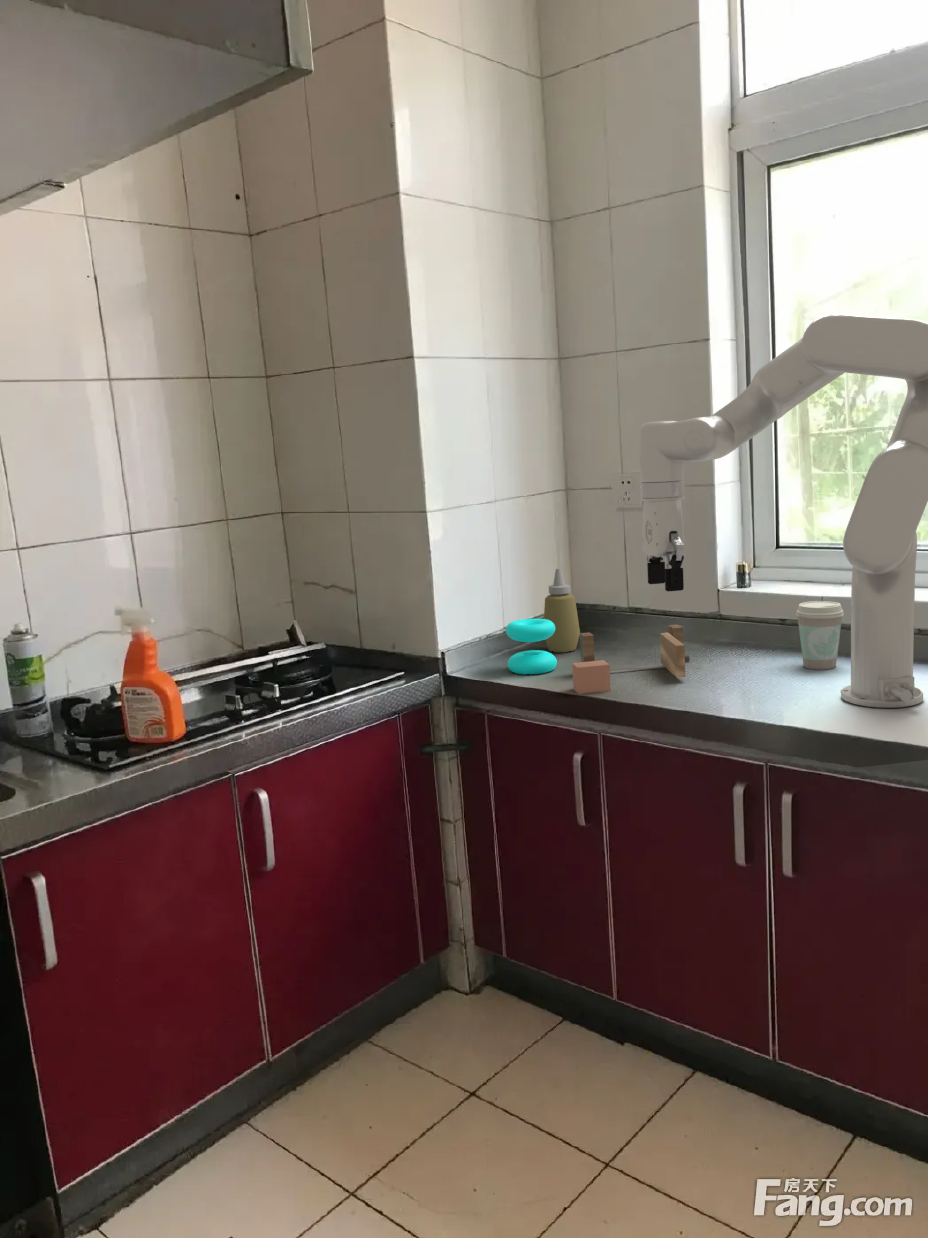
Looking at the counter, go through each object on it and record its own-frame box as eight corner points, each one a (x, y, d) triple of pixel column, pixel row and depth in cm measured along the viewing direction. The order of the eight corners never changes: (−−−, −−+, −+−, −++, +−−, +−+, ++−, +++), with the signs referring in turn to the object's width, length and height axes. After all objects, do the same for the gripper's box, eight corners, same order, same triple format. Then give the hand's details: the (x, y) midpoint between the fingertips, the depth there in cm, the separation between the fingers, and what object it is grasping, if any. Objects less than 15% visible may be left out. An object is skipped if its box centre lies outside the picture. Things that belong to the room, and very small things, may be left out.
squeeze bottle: (538, 649, 222) (534, 569, 218) (571, 644, 224) (568, 565, 221) (552, 655, 214) (548, 572, 211) (586, 651, 216) (583, 569, 213)
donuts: (539, 627, 193) (495, 625, 199) (541, 677, 195) (498, 673, 201) (563, 618, 201) (521, 616, 207) (566, 666, 203) (524, 663, 209)
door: (674, 661, 197) (674, 632, 196) (691, 676, 184) (691, 644, 183) (660, 663, 196) (659, 633, 195) (676, 677, 184) (675, 645, 183)
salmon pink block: (610, 691, 182) (609, 664, 181) (578, 694, 181) (577, 667, 180) (604, 686, 186) (603, 660, 185) (573, 689, 185) (572, 663, 184)
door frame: (683, 666, 196) (682, 627, 195) (585, 676, 194) (583, 636, 192) (678, 663, 199) (677, 624, 198) (581, 673, 197) (579, 633, 195)
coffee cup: (798, 671, 187) (797, 608, 185) (794, 661, 195) (794, 601, 193) (846, 671, 185) (846, 607, 183) (840, 661, 193) (840, 599, 191)
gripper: (627, 491, 185) (631, 582, 188) (658, 495, 168) (661, 595, 171) (666, 488, 186) (669, 579, 189) (700, 492, 169) (702, 592, 172)
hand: (665, 586), depth 180 cm, fingers open, 9 cm apart
